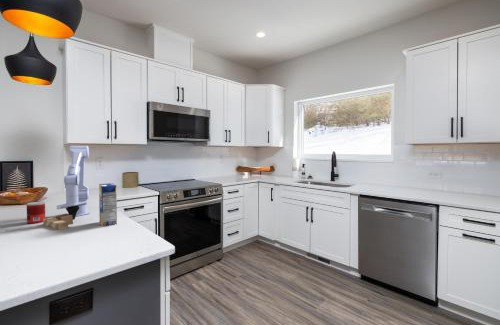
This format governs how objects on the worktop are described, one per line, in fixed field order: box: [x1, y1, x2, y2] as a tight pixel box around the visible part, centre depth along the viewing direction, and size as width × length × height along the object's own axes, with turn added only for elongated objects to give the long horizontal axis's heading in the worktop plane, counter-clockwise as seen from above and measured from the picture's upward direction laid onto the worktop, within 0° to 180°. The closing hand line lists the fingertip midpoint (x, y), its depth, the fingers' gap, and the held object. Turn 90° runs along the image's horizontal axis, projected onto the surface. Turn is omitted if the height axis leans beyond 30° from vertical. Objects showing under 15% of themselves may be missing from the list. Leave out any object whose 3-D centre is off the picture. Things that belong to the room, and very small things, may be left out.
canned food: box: [26, 201, 46, 225], centre depth 140 cm, size 8×8×11 cm
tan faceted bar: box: [42, 217, 69, 231], centre depth 133 cm, size 18×4×3 cm, turn 60°
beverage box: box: [98, 182, 118, 227], centre depth 139 cm, size 7×11×22 cm, turn 39°
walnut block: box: [55, 213, 74, 225], centre depth 137 cm, size 8×5×4 cm, turn 57°
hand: (72, 219), depth 141 cm, fingers closed
